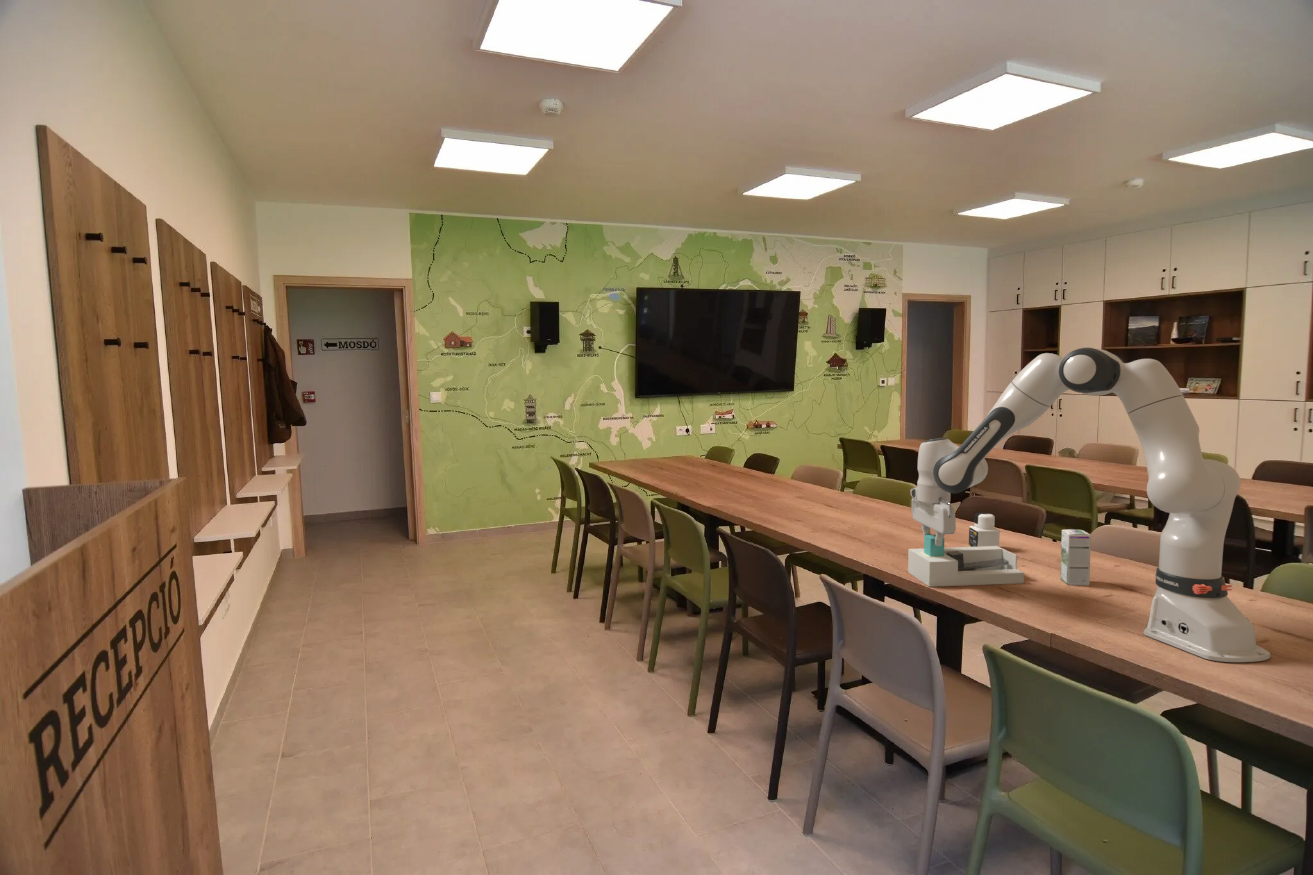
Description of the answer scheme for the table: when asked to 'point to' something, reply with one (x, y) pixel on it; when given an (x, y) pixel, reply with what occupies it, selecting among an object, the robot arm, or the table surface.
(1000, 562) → the ejector lever
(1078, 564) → the syrup box
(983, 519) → the medicine bottle
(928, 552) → the teal block
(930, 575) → the pocket board
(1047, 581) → the table surface
